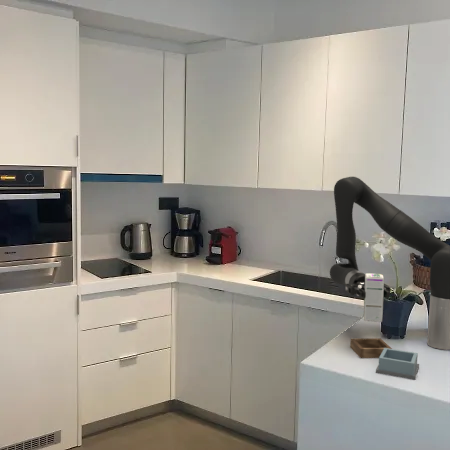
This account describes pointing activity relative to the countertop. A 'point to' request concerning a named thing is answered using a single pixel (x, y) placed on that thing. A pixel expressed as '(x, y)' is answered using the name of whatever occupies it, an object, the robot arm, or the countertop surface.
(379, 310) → the syrup box
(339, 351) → the countertop surface
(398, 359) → the socket
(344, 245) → the robot arm
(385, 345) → the shallow wooden tray
